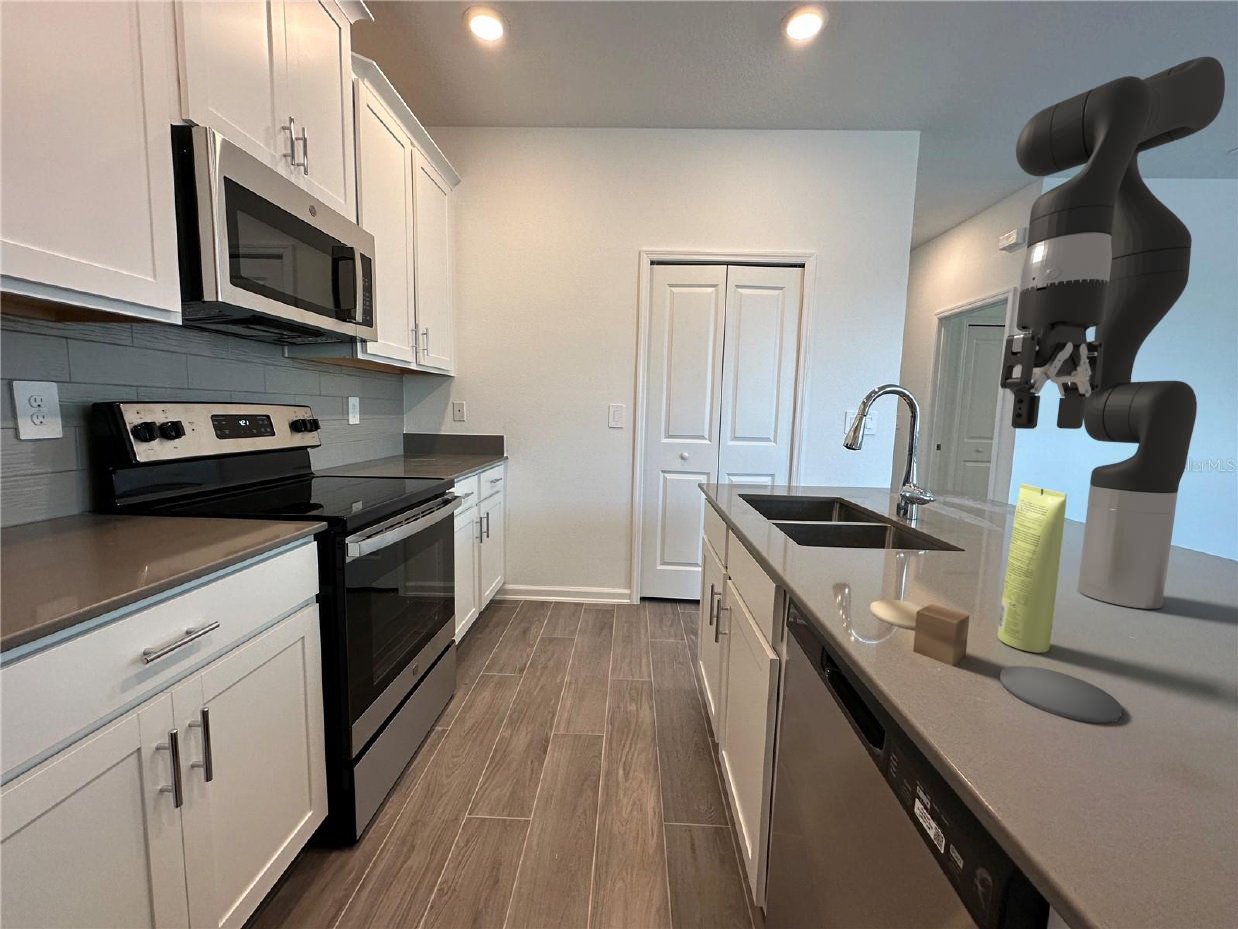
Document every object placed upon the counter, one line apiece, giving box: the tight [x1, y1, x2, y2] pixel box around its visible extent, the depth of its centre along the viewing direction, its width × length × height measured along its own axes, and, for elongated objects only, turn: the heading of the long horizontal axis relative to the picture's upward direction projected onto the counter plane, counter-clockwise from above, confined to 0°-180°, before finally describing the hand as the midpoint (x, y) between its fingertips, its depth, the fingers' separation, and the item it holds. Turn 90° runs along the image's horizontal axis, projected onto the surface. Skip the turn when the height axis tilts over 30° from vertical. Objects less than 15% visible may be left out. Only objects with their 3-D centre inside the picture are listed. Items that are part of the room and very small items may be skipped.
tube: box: [997, 482, 1068, 654], centre depth 58 cm, size 6×5×20 cm
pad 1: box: [869, 599, 927, 631], centre depth 68 cm, size 9×9×1 cm
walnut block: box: [913, 603, 970, 667], centre depth 57 cm, size 4×4×5 cm
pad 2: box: [999, 665, 1122, 724], centre depth 49 cm, size 9×9×1 cm
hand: (1046, 428), depth 57 cm, fingers open, 8 cm apart
